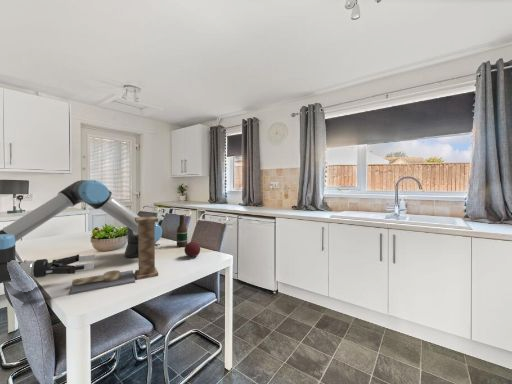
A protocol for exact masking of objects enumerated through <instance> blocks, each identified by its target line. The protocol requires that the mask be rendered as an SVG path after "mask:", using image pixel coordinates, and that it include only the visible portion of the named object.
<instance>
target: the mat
mask: <svg viewBox="0 0 512 384" xmlns="http://www.w3.org/2000/svg"><path fill="white" fill-rule="evenodd" d="M135 277H136V276H135V274H134V270H133V269H131V270H126V271H120V279H118V280H116V281H112V282H104V280H102V281H96V282H91V283H85V284H79V285H73V286H72V288H71V290H70V295H75V294H80V293H85V292H90V291H97V290H102V289H108V288H112V287H118V286H123V285H128V284H134V283H136V278H135Z"/></svg>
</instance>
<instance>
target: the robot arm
mask: <svg viewBox="0 0 512 384" xmlns="http://www.w3.org/2000/svg"><path fill="white" fill-rule="evenodd" d="M80 203H85V204H87V206H90V207H91V208H93V209H95V210H102V212H104V213H106V214H107V215H109V216H110V217H112V218H113V219H115V220H116V221H118V222H119V223H120V224H122V225H123V226H125V227H126V228H127V229H126V231H127V233H126V234H127V244H126V248H125V251H124V257H125V258H127V259H136V258H137V259H139V253H138V223H136V222H135V217H140V215H138V214H137V213H135V212H134V211H133V210H132V209H130V208H128V206H126V205H125V204H123V203H122V202H121V201H119V200H118V199H116V198H115V197H114V196H113V192H112V191H110V190H109V187H108V186H107V185H106V184H105V183H104V182H102V181H100V180H95V179H88V180H87V179H85V180H84V179H83V180H82V179H81V180H77V181H75V182H73V183H71V184H69V185H68V186H66V187H64V188H63V189H62V190H60V191H59V192H57V195H56V196H54V197H53V198H51V199H49V200H48V201H46V202H44V203H43V204H41V205H39V206H38V207H36V208H35V209H33V210H31V211H29V212H28V213H27V214H25V215H23V216H22V217H20V218H19V219H17V220H15V221H14V222H12V223H10V224H9V225H7V226H5V227H3V228H2V229H0V284H4V283H10V282H12V281H11V278H10V275H9V272H8V270H7V262H10V261H11V260H15V261H16V255H17V254H16V243H17V242H18V241H19V240H21V239H22V238H24V237H26V236H27V235H29V233H31V232H33V231H34V230H36V229H37V228H39V227H40V226H42V225H43V224H45V223H47V222H48V221H50V220H51V219H53V218H54V217H56V216H57V215H59V214H60V213H62V212H63V211H65V210H67V209H68V208H73V207H74V206H76V205H78V204H80ZM159 225H160V224H156V223H155V242H156V243H157V242H159V240H160V239H161V238H162V236H163V235H162V234H163V228H162V226H161V227H160V226H159ZM90 261H91V262H90ZM92 261H93V262H92ZM94 261H96V254H95V253H94V254H87V255H86V254H84V255H80V254H76V255H72V256H67V257H63V258H58V259H57V258H56V259H52V261H51V262H49V260H48V259H47V258H42V259H36V260H34V259H33V260H27V259H25V260H23V261H18V263H19V264H20V266H21V268H22V269H23V270H24V271H25V272H26V273H27V274H28V275H29V276H30V277H31V278H32V279H34V278H36V279H37V278H44V277H46V276H49V275H70V274H72V275H74V274H76V272H81V271H86V270H87V271H88V270H93V269H94ZM16 262H17V261H16ZM78 262H79V263H78ZM81 262H86V263H81ZM75 263H78V264H75ZM72 264H75V265H72Z"/></svg>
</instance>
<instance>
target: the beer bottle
mask: <svg viewBox="0 0 512 384" xmlns="http://www.w3.org/2000/svg"><path fill="white" fill-rule="evenodd" d="M185 223H186V222H185V214H180V215H179V223H178V226H177V229H176V247H177V248H180V247H182V248H185V246H186V245H187V244H188V229H187V227H186V225H185Z"/></svg>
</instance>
